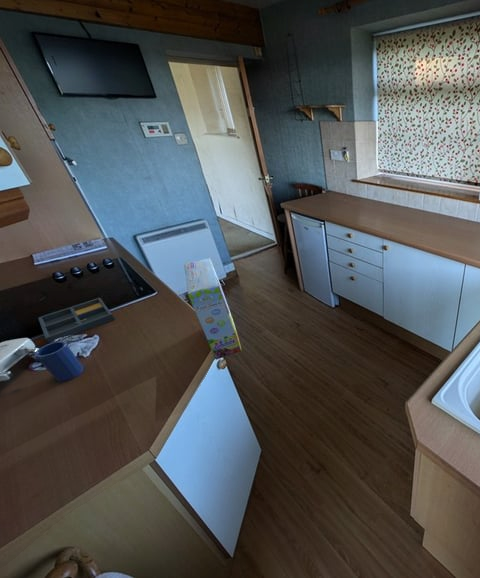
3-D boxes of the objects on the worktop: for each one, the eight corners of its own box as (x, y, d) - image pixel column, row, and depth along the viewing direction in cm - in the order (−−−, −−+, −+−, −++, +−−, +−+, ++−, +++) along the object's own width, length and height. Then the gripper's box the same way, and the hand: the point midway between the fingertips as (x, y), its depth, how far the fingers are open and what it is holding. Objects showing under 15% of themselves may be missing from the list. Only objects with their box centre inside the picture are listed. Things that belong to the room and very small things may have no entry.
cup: (57, 385, 84) (36, 359, 78) (54, 374, 87) (33, 349, 82) (86, 372, 88) (67, 347, 82) (81, 362, 91) (63, 338, 86)
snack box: (206, 325, 107) (182, 262, 94) (232, 317, 111) (212, 256, 98) (213, 361, 92) (185, 292, 78) (243, 351, 96) (221, 284, 83)
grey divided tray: (49, 344, 98) (45, 338, 97) (42, 323, 107) (37, 317, 106) (115, 319, 110) (111, 314, 108) (103, 302, 119) (99, 297, 118)
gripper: (7, 351, 92) (58, 346, 94) (-66, 406, 74) (-1, 399, 77) (-6, 335, 88) (46, 331, 90) (-86, 390, 71) (-19, 383, 73)
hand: (24, 362), depth 83 cm, fingers open, 8 cm apart
